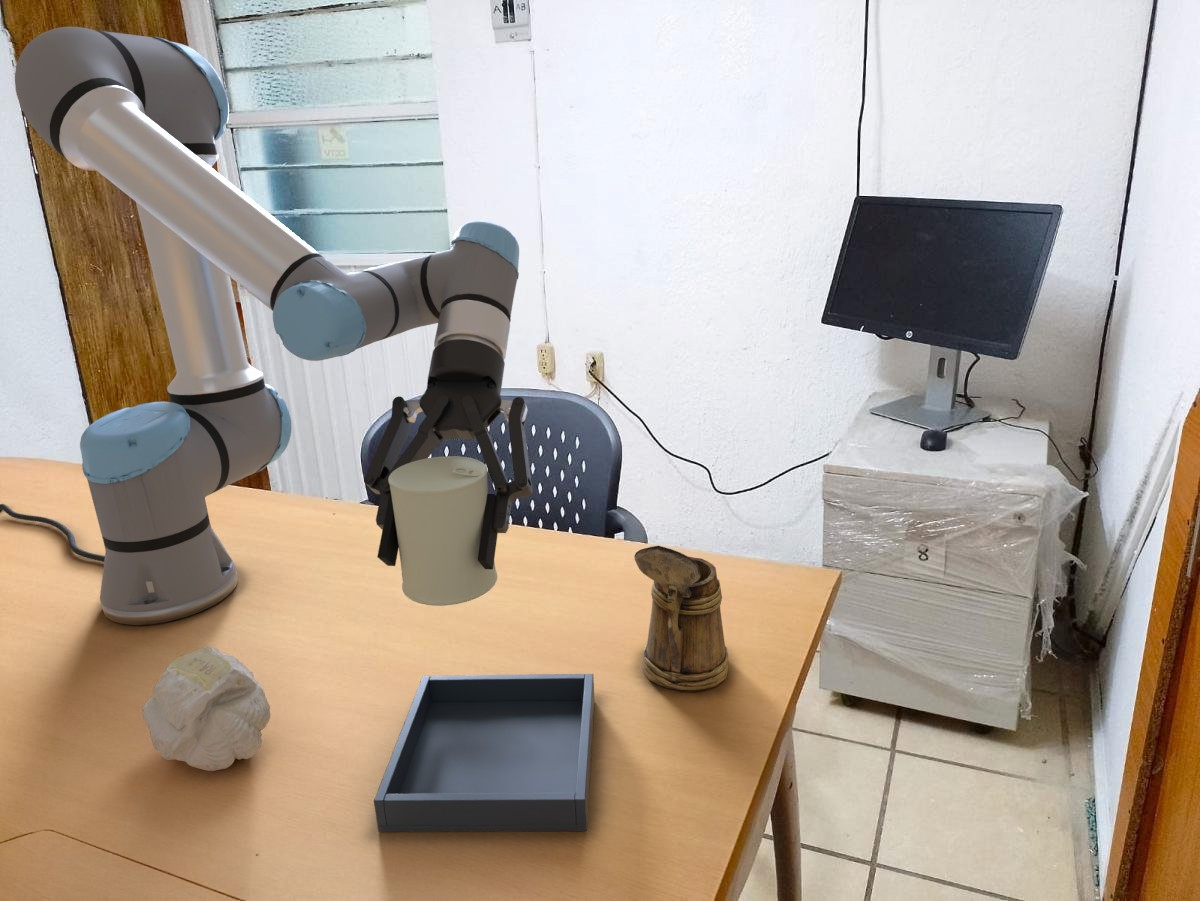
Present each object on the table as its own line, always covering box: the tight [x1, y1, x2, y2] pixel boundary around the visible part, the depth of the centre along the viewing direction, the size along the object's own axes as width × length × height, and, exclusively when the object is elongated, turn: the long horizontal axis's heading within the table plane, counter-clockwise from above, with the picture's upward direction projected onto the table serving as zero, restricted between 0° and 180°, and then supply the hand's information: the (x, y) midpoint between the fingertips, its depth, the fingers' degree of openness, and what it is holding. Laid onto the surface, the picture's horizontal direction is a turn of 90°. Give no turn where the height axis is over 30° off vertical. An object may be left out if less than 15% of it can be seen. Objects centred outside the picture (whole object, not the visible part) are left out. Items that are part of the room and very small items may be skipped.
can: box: [388, 455, 498, 607], centre depth 79 cm, size 9×9×12 cm
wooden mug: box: [633, 545, 729, 693], centre depth 80 cm, size 9×14×18 cm, turn 159°
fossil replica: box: [141, 646, 271, 772], centre depth 75 cm, size 12×8×10 cm
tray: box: [373, 673, 596, 833], centre depth 73 cm, size 17×17×3 cm
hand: (435, 563), depth 77 cm, fingers closed on can, 9 cm apart
